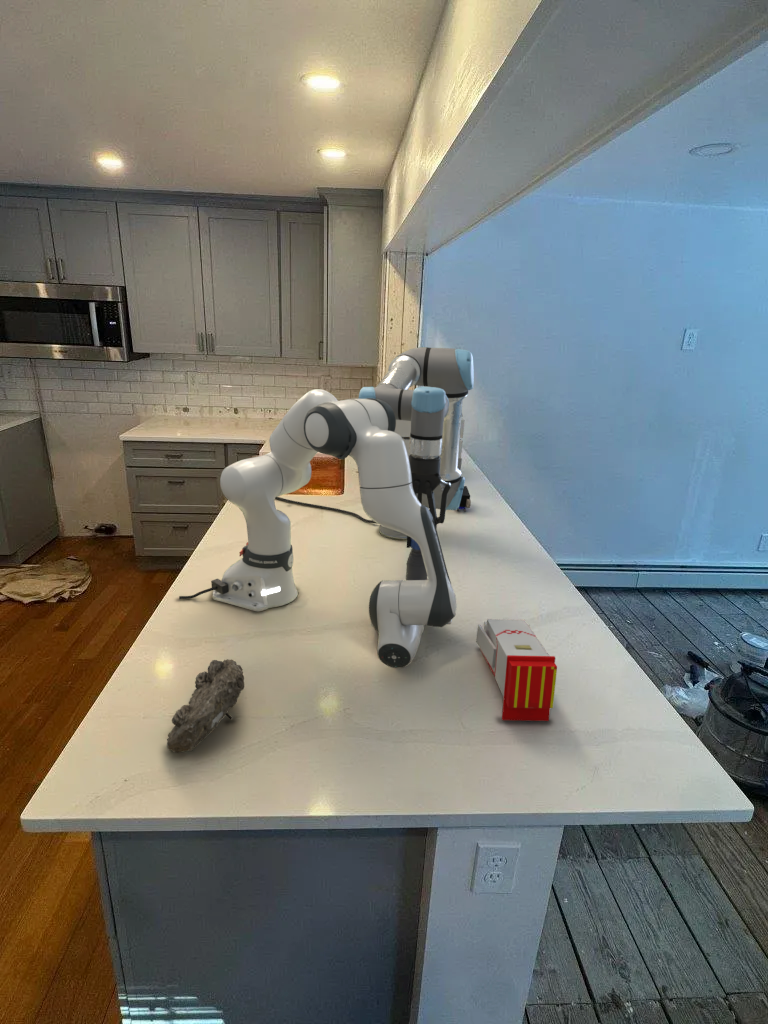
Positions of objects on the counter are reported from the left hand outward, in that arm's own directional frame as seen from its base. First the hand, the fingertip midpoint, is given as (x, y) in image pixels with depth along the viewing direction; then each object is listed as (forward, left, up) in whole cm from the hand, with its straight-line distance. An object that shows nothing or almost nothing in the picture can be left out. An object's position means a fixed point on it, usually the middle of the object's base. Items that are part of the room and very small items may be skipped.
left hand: (415, 592), depth 146 cm
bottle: (0, -1, -6) cm, 6 cm away
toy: (+24, -22, -6) cm, 33 cm away
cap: (0, -1, +15) cm, 15 cm away
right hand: (0, -1, +13) cm, 13 cm away
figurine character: (+5, +89, -6) cm, 89 cm away
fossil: (-31, -49, -6) cm, 59 cm away
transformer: (-19, +134, -6) cm, 135 cm away
